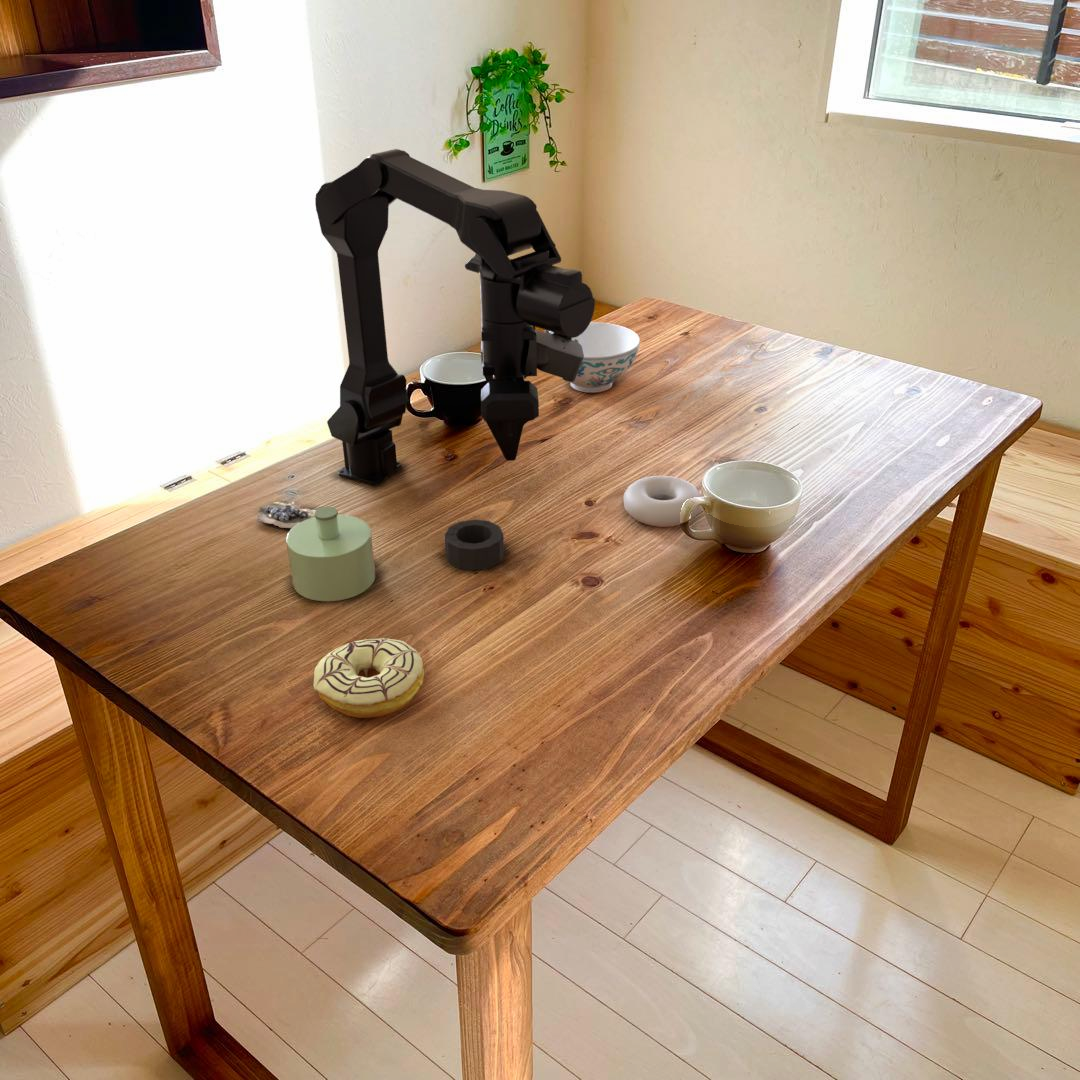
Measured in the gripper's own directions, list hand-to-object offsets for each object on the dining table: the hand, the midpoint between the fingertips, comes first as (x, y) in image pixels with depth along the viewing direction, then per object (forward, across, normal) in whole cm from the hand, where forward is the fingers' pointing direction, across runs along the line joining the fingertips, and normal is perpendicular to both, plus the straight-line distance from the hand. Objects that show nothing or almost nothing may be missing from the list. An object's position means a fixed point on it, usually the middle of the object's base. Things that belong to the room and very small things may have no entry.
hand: (509, 442), depth 130 cm
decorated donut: (+13, -29, +15) cm, 35 cm away
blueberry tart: (+13, +7, +28) cm, 32 cm away
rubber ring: (+13, -4, +5) cm, 14 cm away
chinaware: (+13, +47, -14) cm, 51 cm away
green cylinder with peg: (+13, -8, +21) cm, 26 cm away
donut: (+13, +5, -19) cm, 24 cm away
